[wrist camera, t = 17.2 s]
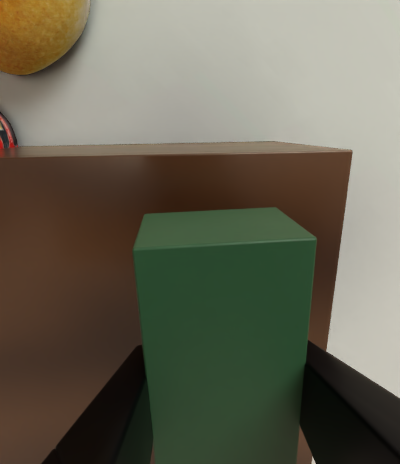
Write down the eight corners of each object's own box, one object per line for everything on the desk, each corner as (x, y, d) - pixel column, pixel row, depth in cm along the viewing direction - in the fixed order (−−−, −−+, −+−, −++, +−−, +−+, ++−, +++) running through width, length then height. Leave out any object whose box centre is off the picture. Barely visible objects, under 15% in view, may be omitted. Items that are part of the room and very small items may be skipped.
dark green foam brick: (266, 416, 11) (293, 500, 8) (163, 426, 11) (159, 515, 8) (276, 206, 9) (318, 237, 6) (143, 213, 8) (131, 248, 6)
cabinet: (261, 372, 24) (307, 496, 16) (67, 386, 23) (8, 528, 15) (274, 141, 19) (353, 149, 11) (22, 146, 18) (-108, 160, 9)
